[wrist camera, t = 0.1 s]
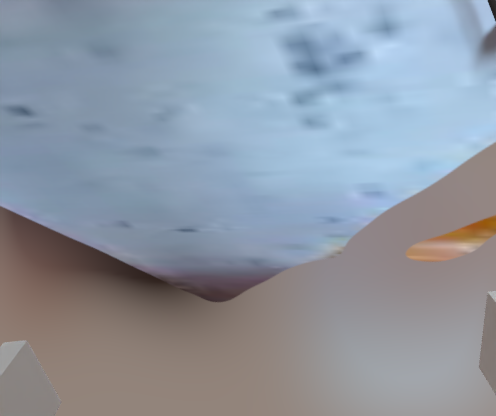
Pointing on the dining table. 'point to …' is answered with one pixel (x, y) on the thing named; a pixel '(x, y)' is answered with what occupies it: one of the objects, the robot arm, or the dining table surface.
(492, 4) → the glasses
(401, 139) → the dining table surface
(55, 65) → the dining table surface
